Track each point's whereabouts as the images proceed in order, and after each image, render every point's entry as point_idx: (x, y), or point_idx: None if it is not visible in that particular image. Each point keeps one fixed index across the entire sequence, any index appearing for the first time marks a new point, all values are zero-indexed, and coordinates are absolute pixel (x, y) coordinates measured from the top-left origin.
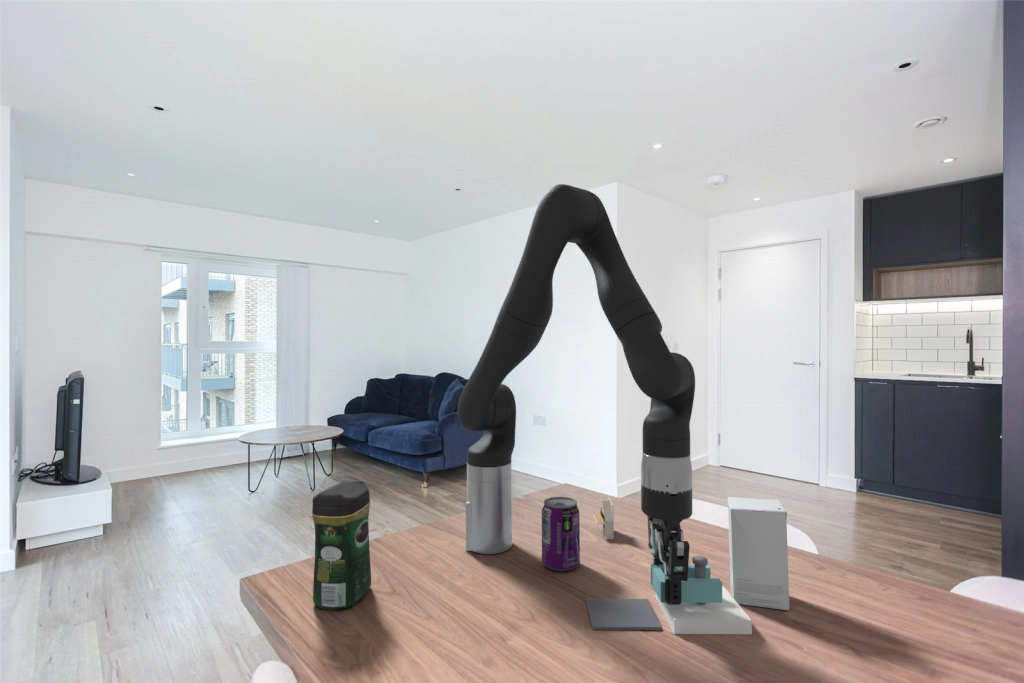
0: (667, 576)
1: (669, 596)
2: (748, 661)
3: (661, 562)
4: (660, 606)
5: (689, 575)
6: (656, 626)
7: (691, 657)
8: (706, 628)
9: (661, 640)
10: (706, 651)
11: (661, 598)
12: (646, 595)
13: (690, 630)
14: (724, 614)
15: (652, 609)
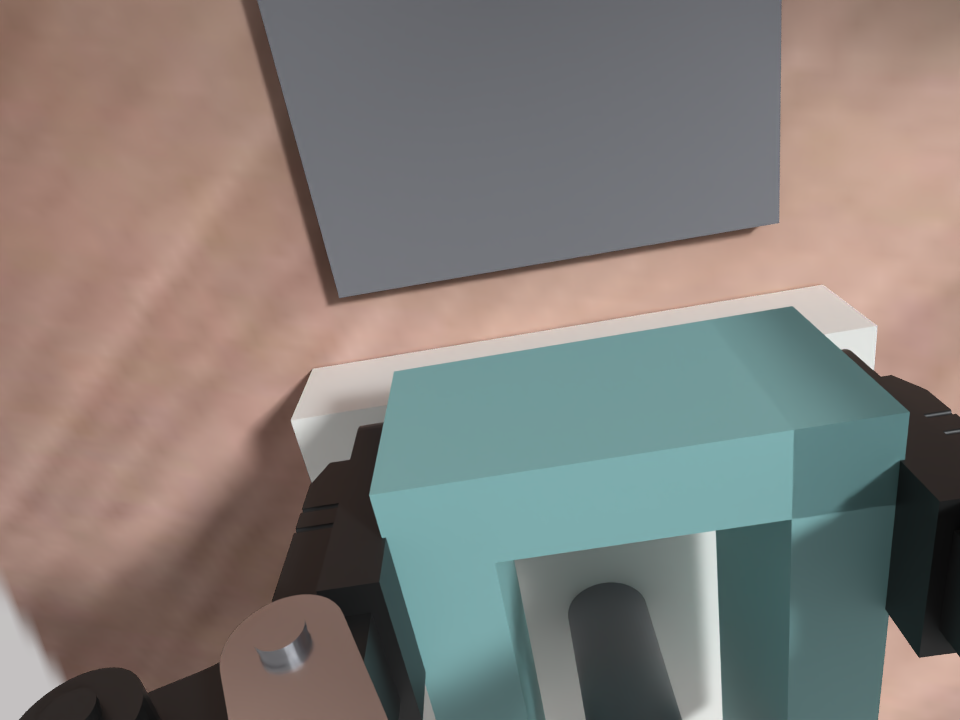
0: (226, 658)
1: (341, 488)
2: (165, 681)
3: (910, 560)
4: (669, 314)
5: (758, 701)
6: (338, 259)
7: (75, 437)
8: None
9: (202, 275)
10: (178, 521)
11: (394, 394)
12: (877, 212)
13: None
14: None
15: (597, 249)
